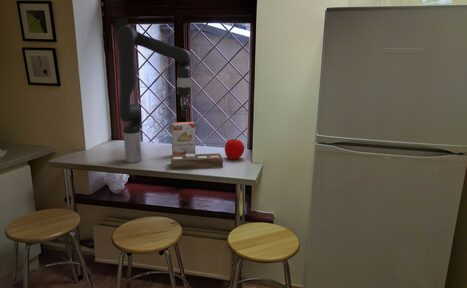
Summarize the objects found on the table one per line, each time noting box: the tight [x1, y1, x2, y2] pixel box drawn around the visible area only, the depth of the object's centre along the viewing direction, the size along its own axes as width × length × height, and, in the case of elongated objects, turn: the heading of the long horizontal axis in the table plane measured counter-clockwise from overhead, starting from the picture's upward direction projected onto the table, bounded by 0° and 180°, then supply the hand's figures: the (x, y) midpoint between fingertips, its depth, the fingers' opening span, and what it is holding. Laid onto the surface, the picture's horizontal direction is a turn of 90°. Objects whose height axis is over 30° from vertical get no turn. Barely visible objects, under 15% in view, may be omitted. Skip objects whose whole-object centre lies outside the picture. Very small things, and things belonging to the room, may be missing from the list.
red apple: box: [224, 138, 245, 160], centre depth 203 cm, size 12×12×13 cm
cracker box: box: [171, 121, 196, 155], centre depth 208 cm, size 14×6×21 cm, turn 112°
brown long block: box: [170, 153, 224, 170], centre depth 189 cm, size 11×29×5 cm, turn 101°
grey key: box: [186, 153, 196, 159], centre depth 188 cm, size 5×5×3 cm
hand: (184, 116), depth 191 cm, fingers closed
